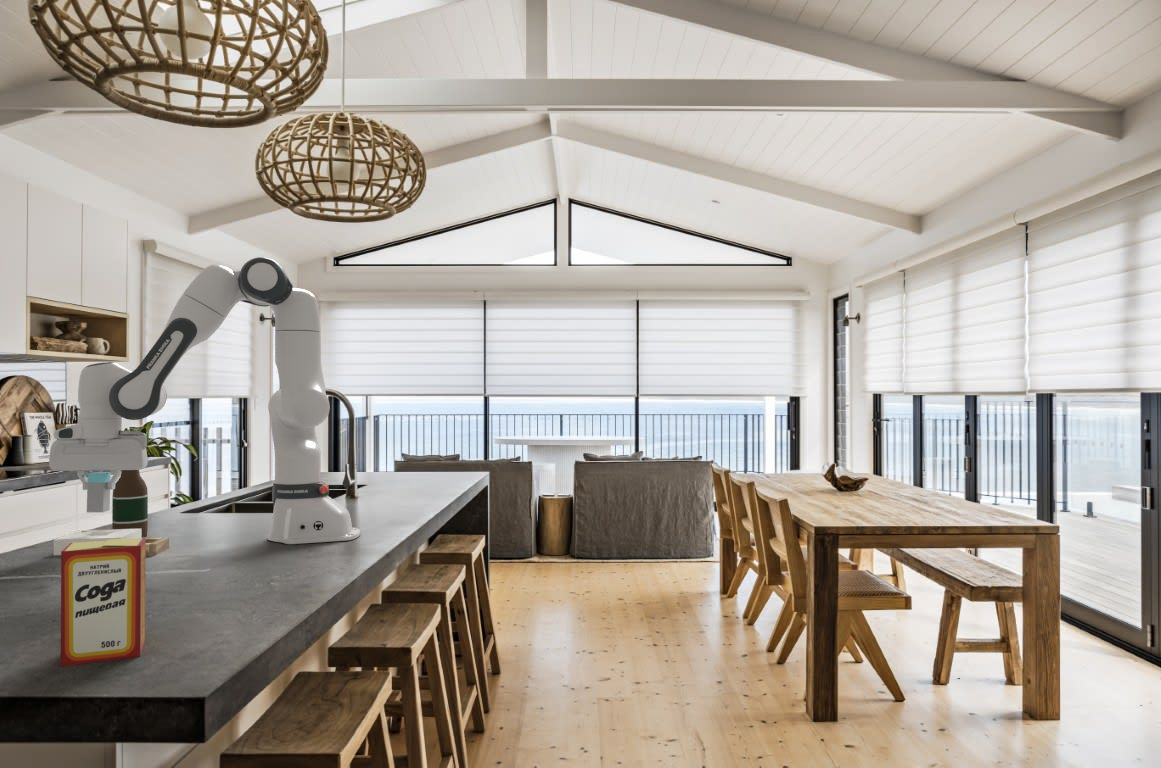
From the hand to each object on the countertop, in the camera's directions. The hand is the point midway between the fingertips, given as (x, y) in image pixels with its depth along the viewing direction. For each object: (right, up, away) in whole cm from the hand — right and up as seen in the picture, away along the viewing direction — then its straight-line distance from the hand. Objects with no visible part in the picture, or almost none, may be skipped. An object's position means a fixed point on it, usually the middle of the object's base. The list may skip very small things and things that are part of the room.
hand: (99, 489), depth 181 cm
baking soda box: (+46, -14, -71) cm, 86 cm away
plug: (0, -5, 0) cm, 5 cm away
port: (0, -14, 0) cm, 14 cm away
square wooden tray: (+13, -14, -4) cm, 20 cm away
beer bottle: (-1, -15, +15) cm, 21 cm away
